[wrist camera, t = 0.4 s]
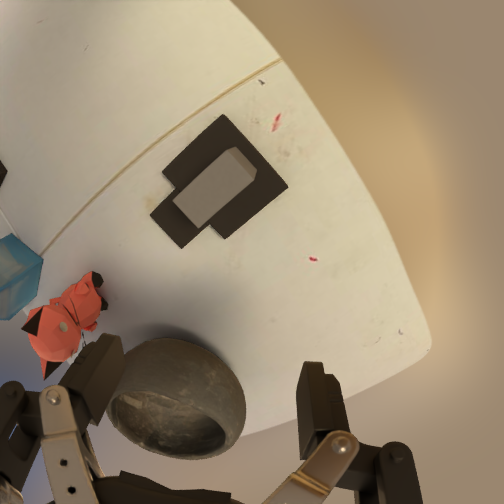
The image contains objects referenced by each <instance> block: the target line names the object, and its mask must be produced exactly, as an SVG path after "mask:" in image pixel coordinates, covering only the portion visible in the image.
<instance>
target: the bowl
mask: <svg viewBox="0 0 504 504" xmlns="http://www.w3.org/2000/svg"><path fill="white" fill-rule="evenodd" d="M124 357H125V361H126V366H125V371H124V374H123V376H122V378H121V380H120V382H119V384H118V386H117V388H116V390H115V392H114V394H113V396H112V398H111V400H110V402H109V404H108V406H107V408H106V413H107V415H108V417H109V419H110V421H111V422H112V424H113V425H114V427H115V428H117V429H118V431H120V432H121V433H122V434H123V435H124V436H125V437H127V438H128V439H129V440H130V441H132V442H133V443H135V444H137V445H139V446H140V447H141V448H143V449H146V450H148V451H151V452H153V453H157V454H160V455H163V456H167V457H172V458H177V459H186V460H199V459H207V458H211V457H214V456H217V455H220V454H222V453H224V452H226V451H227V450H228V449H230V448H231V447H232V446H233V445H234V444H235V442H236V441H237V439H238V438H239V436H240V434H241V433H242V430H243V428H244V424H245V419H246V402H245V396H244V392H243V389H242V387H241V384H240V383H239V381H238V379H237V377H236V376H235V374H234V373H233V372H232V370H231V369H230V368H229V367H228V366H227V365H226V364H225V363H224V362H223V361H221V360H220V359H219V358H218V357H217V356H215V355H214V354H212V353H211V352H209V351H207V350H205V349H203V348H201V347H199V346H197V345H195V344H192V343H190V342H187V341H183V340H178V339H171V338H159V339H153V340H150V341H146V342H144V343H142V344H140V345H138V346H137V347H135V348H133V349H132V350H130V351H129V352H127V353H126V354H125V355H124Z"/></svg>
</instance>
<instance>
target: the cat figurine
mask: <svg viewBox="0 0 504 504" xmlns="http://www.w3.org/2000/svg"><path fill="white" fill-rule="evenodd" d="M103 282H104V281H103V279H102V277H101V275H100V274H98V273H95V272H93V271H91V272H90V273H88V274H86V275H84V276H83V278H82V279H81V281H80V282H78V283H77V284H73V285H71V286H70V287H69V288H68V289H67V290H65V291H64V292H63V293H62V296H61V297H58V298H53V299H49V301H50V305H45V306H44V305H43V306H42V307H38V308H35V309H32V310H30V313H29V316H28V319H27V322H26V323H25V324H24V326H23V327H22V328H21V329H22V330H24V331H26V332H28V336H29V340H30V343H31V345H32V347H33V349H34V350H35V352H36V353H37V354H38V355H39V356H40V358H41V366H42V372H43V378H44V380H45V379H46V378H47V377H48V376H49V375H50V374H51V373H52V372H53V371H54V370H55V369H56V368H58V367H59V365H61V364H62V363H63V362H64V361H65V360H66V359H68V358H69V357H70V356H71V358H72V356H73V354H75V353H76V352H77V350H78V346H79V342H80V339H82V338H81V329H84V330H86V331H87V330H88V331H91V332H92V331H94V330H95V329H96V326H97V322H96V319H97V318H98V317H99V315H100V311H103V310H107V308H108V304H107V302H106V301H105V300H104V299H103V298H102V297H100V296H98V295H97V293H96V291H95V288H100V287H101V285H102V283H103ZM55 303H58V306H56V305H55ZM82 335H83V338H84V334H83V333H82ZM84 343H85V341H84ZM85 346H86V343H85Z"/></svg>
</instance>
